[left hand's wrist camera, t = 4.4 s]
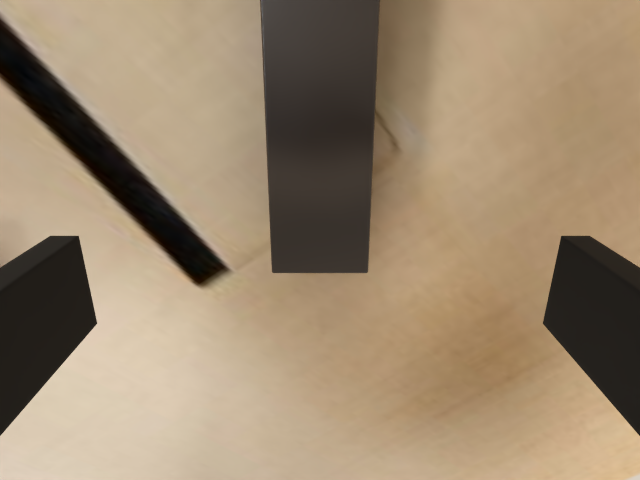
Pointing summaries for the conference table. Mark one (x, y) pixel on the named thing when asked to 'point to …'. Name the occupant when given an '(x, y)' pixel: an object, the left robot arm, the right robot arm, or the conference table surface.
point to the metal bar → (320, 131)
